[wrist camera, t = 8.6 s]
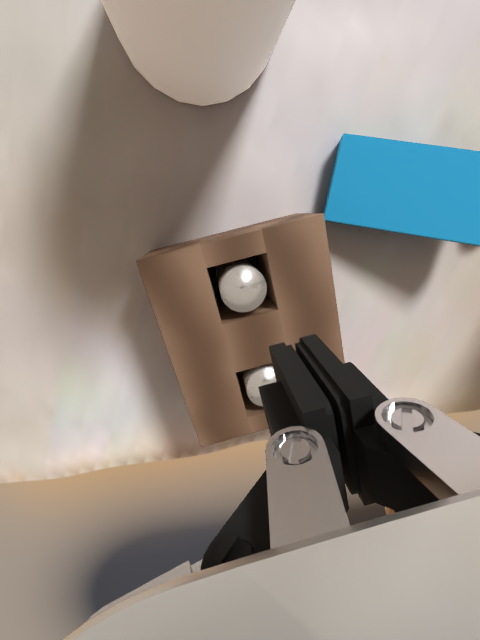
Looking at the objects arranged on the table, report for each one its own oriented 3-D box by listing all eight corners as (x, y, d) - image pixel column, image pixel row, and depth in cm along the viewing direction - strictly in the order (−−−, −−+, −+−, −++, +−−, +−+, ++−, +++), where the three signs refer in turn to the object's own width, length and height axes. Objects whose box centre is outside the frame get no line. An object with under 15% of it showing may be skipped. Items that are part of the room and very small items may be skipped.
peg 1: (248, 250, 30) (261, 260, 24) (256, 286, 31) (271, 305, 25) (211, 259, 30) (214, 273, 23) (221, 295, 31) (226, 317, 25)
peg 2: (267, 335, 33) (283, 365, 27) (273, 364, 34) (291, 400, 28) (234, 343, 33) (242, 376, 26) (242, 373, 34) (251, 411, 28)
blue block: (317, 221, 35) (490, 249, 33) (323, 219, 28) (541, 254, 26) (333, 152, 33) (518, 178, 31) (343, 133, 26) (580, 164, 24)
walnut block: (296, 213, 30) (324, 213, 23) (322, 369, 35) (350, 405, 29) (150, 250, 29) (136, 261, 22) (201, 402, 35) (201, 446, 28)
